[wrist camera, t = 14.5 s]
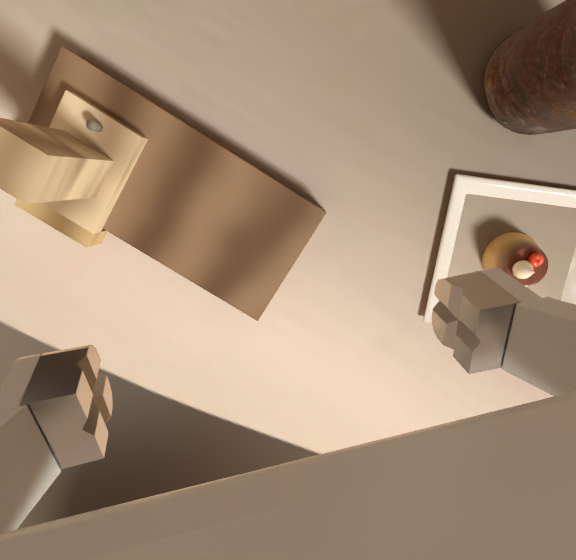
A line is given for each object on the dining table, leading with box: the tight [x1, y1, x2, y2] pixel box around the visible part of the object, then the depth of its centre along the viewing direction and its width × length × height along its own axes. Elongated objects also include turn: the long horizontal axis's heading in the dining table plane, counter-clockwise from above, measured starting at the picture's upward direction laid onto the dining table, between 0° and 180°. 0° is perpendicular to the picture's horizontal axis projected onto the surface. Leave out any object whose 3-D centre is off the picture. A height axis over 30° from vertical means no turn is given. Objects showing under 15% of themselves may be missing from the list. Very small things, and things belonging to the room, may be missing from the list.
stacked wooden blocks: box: [0, 90, 148, 247], centre depth 29 cm, size 6×9×10 cm, turn 148°
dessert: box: [423, 174, 576, 323], centre depth 33 cm, size 12×12×5 cm
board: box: [29, 47, 326, 321], centre depth 34 cm, size 22×10×2 cm, turn 59°
